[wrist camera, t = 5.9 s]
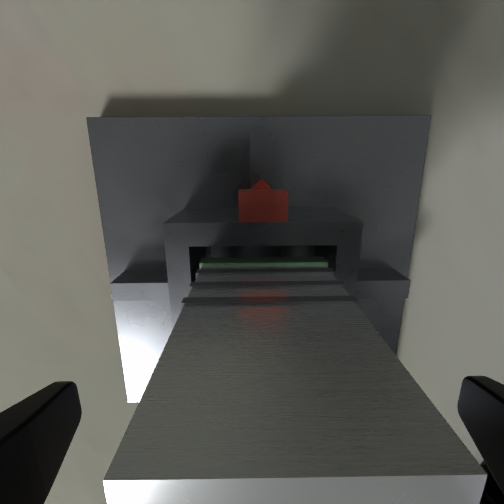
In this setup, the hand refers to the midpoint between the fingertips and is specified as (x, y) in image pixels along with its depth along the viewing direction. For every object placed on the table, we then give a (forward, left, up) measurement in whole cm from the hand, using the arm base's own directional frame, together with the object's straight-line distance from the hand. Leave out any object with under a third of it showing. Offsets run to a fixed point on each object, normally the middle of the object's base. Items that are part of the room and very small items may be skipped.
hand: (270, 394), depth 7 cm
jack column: (0, 0, -4) cm, 4 cm away
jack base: (0, 0, -8) cm, 8 cm away
